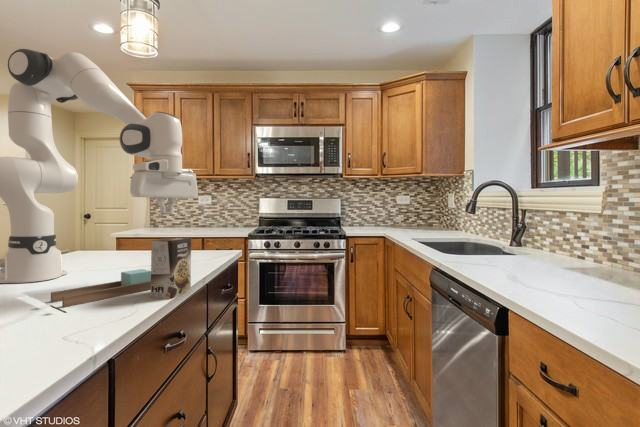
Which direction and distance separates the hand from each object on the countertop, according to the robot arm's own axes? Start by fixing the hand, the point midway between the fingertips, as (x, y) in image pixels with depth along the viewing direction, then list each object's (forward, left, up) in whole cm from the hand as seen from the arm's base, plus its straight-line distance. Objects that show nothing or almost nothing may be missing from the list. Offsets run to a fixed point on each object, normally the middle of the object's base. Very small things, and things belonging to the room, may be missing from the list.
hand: (166, 213), depth 106 cm
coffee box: (+12, -6, -23) cm, 26 cm away
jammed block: (0, -9, -21) cm, 23 cm away
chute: (0, -16, -23) cm, 28 cm away
